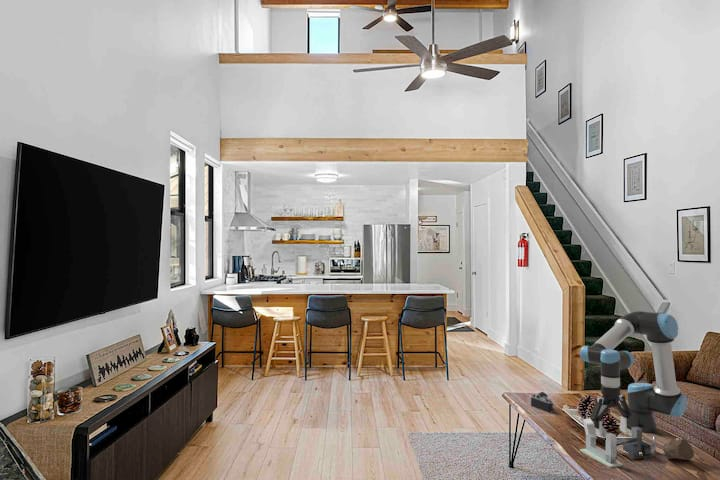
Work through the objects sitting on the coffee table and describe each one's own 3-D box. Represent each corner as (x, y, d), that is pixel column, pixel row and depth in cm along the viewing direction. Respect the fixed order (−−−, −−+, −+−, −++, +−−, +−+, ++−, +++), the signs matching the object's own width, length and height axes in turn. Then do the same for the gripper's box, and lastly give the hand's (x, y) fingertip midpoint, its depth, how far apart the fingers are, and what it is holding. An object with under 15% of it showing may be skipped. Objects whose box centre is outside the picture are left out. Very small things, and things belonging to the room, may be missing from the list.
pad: (592, 449, 225) (592, 447, 225) (622, 465, 208) (622, 464, 208) (579, 450, 223) (579, 449, 223) (609, 467, 206) (609, 465, 206)
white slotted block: (591, 449, 223) (591, 423, 223) (616, 463, 209) (616, 435, 209) (585, 450, 222) (585, 424, 223) (610, 463, 208) (610, 436, 208)
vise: (648, 448, 227) (647, 422, 227) (662, 455, 219) (662, 429, 219) (606, 453, 220) (606, 427, 220) (620, 461, 212) (620, 434, 213)
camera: (560, 412, 277) (560, 394, 278) (550, 414, 274) (549, 396, 274) (539, 404, 291) (539, 387, 291) (529, 406, 287) (529, 389, 288)
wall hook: (613, 442, 232) (608, 421, 233) (590, 444, 234) (586, 424, 235) (608, 435, 240) (603, 416, 241) (586, 438, 242) (582, 418, 243)
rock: (679, 467, 207) (679, 444, 207) (655, 457, 216) (655, 435, 216) (695, 461, 213) (695, 438, 213) (671, 452, 222) (671, 431, 222)
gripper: (626, 380, 217) (627, 427, 217) (580, 385, 211) (581, 433, 210) (640, 385, 210) (640, 433, 210) (593, 390, 203) (594, 440, 203)
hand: (611, 433), depth 210 cm, fingers open, 13 cm apart
